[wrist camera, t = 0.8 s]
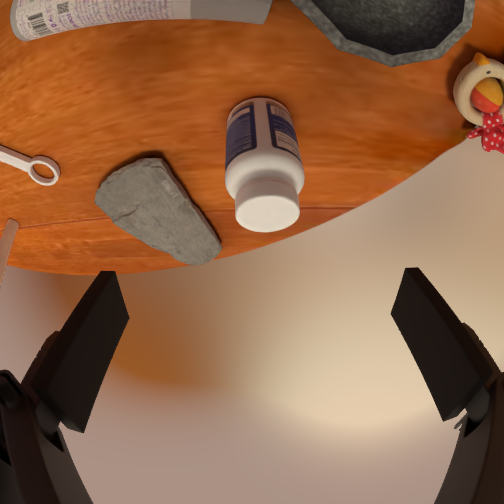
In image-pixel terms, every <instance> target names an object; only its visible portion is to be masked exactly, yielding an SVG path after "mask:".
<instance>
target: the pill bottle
mask: <svg viewBox="0 0 504 504" xmlns="http://www.w3.org/2000/svg"><path fill="white" fill-rule="evenodd" d="M225 183H226V188H227V191H228V192H229V194H230V195H231V197H232V198H233V199H235V215H236V219H237V221H238V223H239V224H240V225H241V226H243V227H244V228H246V229H249V230H252V231H257V232H273V231H278V230H281V229H284V228H286V227H288V226H290V225H292V224H293V223H294V222H295V221H296V220H297V219H298V217H299V214H300V209H299V197H298V194H299V193H300V191H301V189H302V187H303V184H304V169H303V165H302V160H301V156H300V151H299V147H298V142H297V138H296V134H295V130H294V126H293V122H292V119H291V116H290V113H289V112H288V110H287V109H286V108H285V107H284V106H283V105H282V104H281V103H279V102H277V101H275V100H272V99H269V98H252V99H248V100H245V101H243V102H241V103H240V104H238V105H237V106H235V107H234V109H233V110H232V111H231V113H230V114H229V117H228V120H227V131H226V161H225Z"/></svg>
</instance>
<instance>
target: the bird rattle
mask: <svg viewBox="0 0 504 504" xmlns="http://www.w3.org/2000/svg"><path fill="white" fill-rule="evenodd" d="M494 77H495V78H498V79H500V83H501V86H500V85H499V83H498V81H497V80H496V79H495V78H494ZM501 88H502V89H501ZM453 95H454V101H455V103H456V106H457V108H458V110H459V111H460V113H461V114H462V115H463V117H464V118H465V119H467V120H468V121H469V122H471V123H473V124H476V125H479V126H478V127H476V128H475V129H473V130H471V131H470V132H468V133H467V136H468V138H470V139H472V138H475V137H478V136H482V138H481V139H482V140H481V142H482V147H483V149H484V150H485V151H487V152H490V151H492V150H497V151H499V152H501V153H503V154H504V122H503V121H504V65H503V64H502V63H500V62H498V61H496V60H494V59H490V58H486V57H485V56H484V55H483V54H482V53H479V52H477V53H476V54H475V56H474V58H473V60H472V62H470V63H469V64H467V65H466V66H465V67H464V68H463V69H462V70H461V72H460V73H459V75H458V76H457V78H456V81H455V84H454V88H453Z"/></svg>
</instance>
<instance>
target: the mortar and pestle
mask: <svg viewBox="0 0 504 504" xmlns="http://www.w3.org/2000/svg"><path fill="white" fill-rule="evenodd" d="M291 1H292V2H293V4H294V5H295V6H296V7H297V8H299V9H300V10H301V11H302V12H303V13H304V14H305V15H306V16H307V17H308V18H309V19H310V20H311V21H312V22H313V23H314V24H315V25H316V26H317V27H318V28H319V29H320V30H321V32H322V33H323V34H324V35H325V36H326V37H327V38H328V39H329V40H330V41H331V42H332V44H333V45H334V46H335V47H336V48H337V49H338V50H341V51H345V52H348V53H351V54H355V55H358V56H361V57H364V58H367V59H370V60H373V61H376V62H379V63H382V64H384V65H387V66H390V67H395V66H400V65H404V64H410V63H415V62H420V61H426V60H433V59H439V58H441V57H442V56H443V55H444V54H445V53H446V52H447V51H448V50H449V49H450V48H451V47H452V46H453V45H454V44H455V43H456V42H457V41H458V40H459V39H460V38H461V37H462V36H463V35H464V34H465V33H466V32H467V31H468V30H469V29H470V28H471V26H472V20H473V13H474V5H475V0H291Z"/></svg>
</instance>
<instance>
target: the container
mask: <svg viewBox="0 0 504 504" xmlns="http://www.w3.org/2000/svg"><path fill="white" fill-rule="evenodd" d="M272 1H273V0H14V1H13V3H12V7H11V12H10V23H11V27H12V30H13V32H14V34H15V36H16V37H17V38H18V39H20V40H22V41H30V40H34V39H37V38H41V37H44V36H48V35H52V34H56V33H60V32H64V31H69V30H73V29H78V28H84V27H89V26H95V25H102V24H109V23H118V22H128V21H140V20H165V19H205V20H224V21H236V22H245V23H254V24H261V25H262V24H263V23H264V22H265V20H266V18H267V16H268V13H269V10H270V7H271V4H272Z"/></svg>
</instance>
